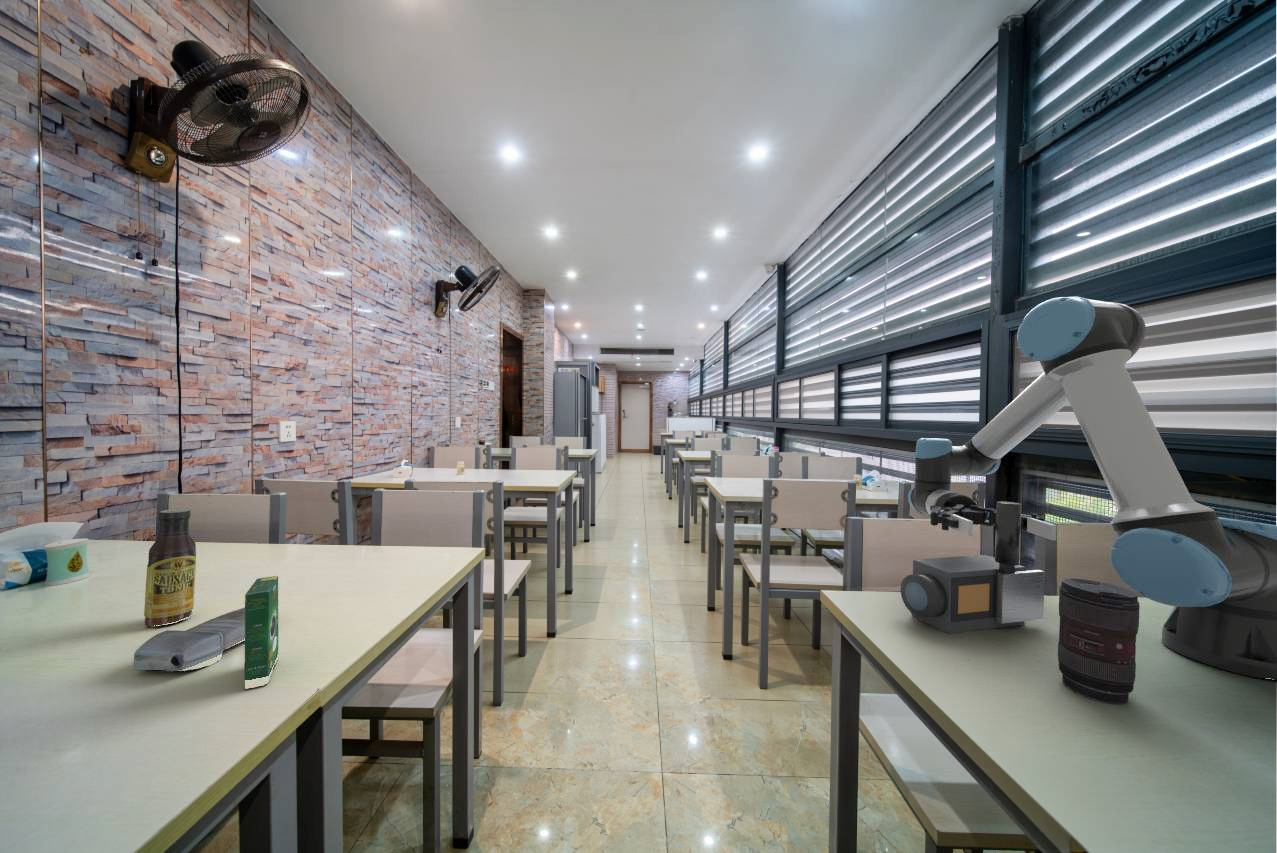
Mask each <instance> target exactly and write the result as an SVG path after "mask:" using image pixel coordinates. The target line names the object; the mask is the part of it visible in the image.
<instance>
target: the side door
mask: <svg viewBox="0 0 1277 853" xmlns="http://www.w3.org/2000/svg"><path fill="white" fill-rule="evenodd" d="M995 504H996V506H995V507H996V508H995V509H996V525H995V533H994V534H995V537H994V538H995V541H994V542H995V543H994V544H995V546H994V558H995V561H996V562H998V563H999V573H998V582H997V618H996V621H997V622H999V623H1002V624H1003V623H1012V622H1021V621H1025V622H1026V621H1027V622H1029V621H1036V620H1037V621H1038V620H1043V619H1044V613H1045V612H1044V610H1045V609H1044V608H1045V606H1044V604H1045V603H1044V602H1045V576H1046V575H1045V574H1046V572H1045V571H1044V570H1042V569H1031V570H1030V569H1029V570H1028V569H1027V570H1026V571H1015V566H1017V565H1021V533H1022V532H1021V531H1022V529H1021V514H1022V503H1019V502H1013V501H1005V500H1003V501H997V500H996V503H995Z"/></svg>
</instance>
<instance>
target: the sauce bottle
mask: <svg viewBox="0 0 1277 853" xmlns="http://www.w3.org/2000/svg"><path fill="white" fill-rule="evenodd" d="M190 518H191V509H189V508H172V509H164V510H160V511H159V512H158V521H159V531H158V537H157V538H156V540H155V542H154V543H153V544H152V546H151V547H150V548H149V550H148V561H147V566H146V578H145V590H144V594H145V595H144V610H143V611H144V612H143V616H144V625H145V626H146V625H147V626H146V627H148V626H154V625H155V626H156V625H162V624H167V623H172V622H176V621H179V620H181V619H184V618H186V617H189V616H190V615H191V614H193V610H194V607H195V606H194V605H195V604H194V602H195V589H196V588H195V587H196V572H197V571H196V567H197V549H196V548H197V546H196V541H195V540H194V539H193V538H192V537H191V535H190V528H189V524H190ZM191 616H192V615H191ZM191 616H190V617H191Z"/></svg>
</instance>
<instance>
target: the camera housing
mask: <svg viewBox="0 0 1277 853" xmlns="http://www.w3.org/2000/svg"><path fill="white" fill-rule="evenodd" d="M1015 571H1027V566H1023V565H1021V564H1020V565H1017V566H1015ZM998 573H999V563H998V562H996V561H995V556H990V555H986V554H977V555H975V554H974V555H964V556H947V557H932V558H921V559H920V558H918V559H913V560H912V574H910V575H907V576H905V577H904V578H903V579H902V581H901V583H900V595H901V599H902V602H903V603H904V606H905V608H906V609H907V610H908V611H909V612H910V613H911V616H913V617H914V618H917V619H919V620H920V621H923V622H925V623H926V624H929V625H931V626H933V627H934V628H937V629H938V630H940V629H941V630H940V631H942V630H943V632H944V631H945V632H944V633H946V632H947V634H954V633H965V632H970V631H979V630H980V631H981V630H991V629H997V628H998V629H999V628H1006V627H1017V626H1024V625H1025V622H1026V621H1021V622H1012V623H1003V624H1002V623H999V622H997V621H996V618H997V582H998Z"/></svg>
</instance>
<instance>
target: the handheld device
mask: <svg viewBox="0 0 1277 853" xmlns="http://www.w3.org/2000/svg"><path fill="white" fill-rule="evenodd" d="M244 639H245V607H241V608H239V609H236V610H233V611H230V612H227V613H224V614H220V615H219V616H216V617H214V618H211V619H209V620H206V621H203V622H202V623H199V624H198V625H195V626H192V627H191V628H188V629H185V630H178V629H177V630H175V629H174V630H172V629H170V630H165V631H161V632H159V633H156V634H155V635H153V636H152V637H151V638H148V640H146V641H145V642H144V643H142V644H141V645H140V646H139V647H138V648H137V649H136V650H135V651H134V654H133V669H134V670H136V671H146V670H166V671H165V672H173V671H178V670H179V671H180V670H183V669H186V668H189V667H192V666H195V665H197V664H199V663H202V662H204V661H207V660H209V659H212V658H214V657H217V656H218V655H220V654H221V653H223V654H224V652H225V651H226V650H225V649H226V648H228V647H230V646H232V645H234V644H236V643H238V642H240V641H242V640H244ZM224 650H225V651H224ZM223 651H224V652H223Z"/></svg>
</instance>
